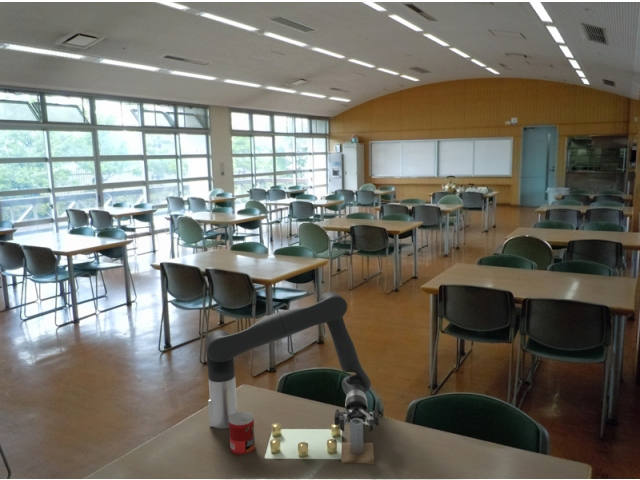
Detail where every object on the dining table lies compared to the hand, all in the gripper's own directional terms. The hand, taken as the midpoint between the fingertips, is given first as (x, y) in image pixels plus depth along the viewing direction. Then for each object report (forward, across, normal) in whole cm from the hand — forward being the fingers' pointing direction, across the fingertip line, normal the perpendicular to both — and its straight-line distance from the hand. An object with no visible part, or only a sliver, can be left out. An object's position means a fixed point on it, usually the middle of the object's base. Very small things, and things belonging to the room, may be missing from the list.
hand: (356, 428), depth 164 cm
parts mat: (-6, -17, +9) cm, 20 cm away
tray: (0, 0, +9) cm, 9 cm away
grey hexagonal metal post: (0, 0, +8) cm, 8 cm away
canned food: (-3, -37, +9) cm, 38 cm away
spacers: (-5, -17, +8) cm, 20 cm away
